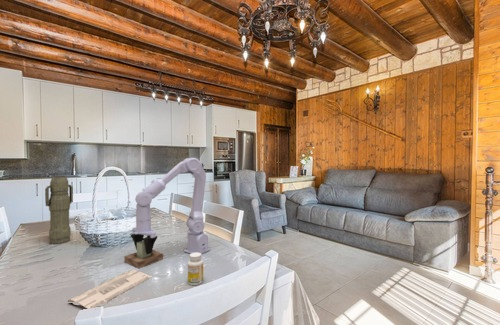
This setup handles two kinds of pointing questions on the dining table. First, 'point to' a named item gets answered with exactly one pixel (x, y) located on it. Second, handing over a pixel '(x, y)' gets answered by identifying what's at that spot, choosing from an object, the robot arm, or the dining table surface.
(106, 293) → the newspaper
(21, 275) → the dining table surface
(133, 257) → the socket block
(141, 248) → the peg
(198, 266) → the supplement bottle
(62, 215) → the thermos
